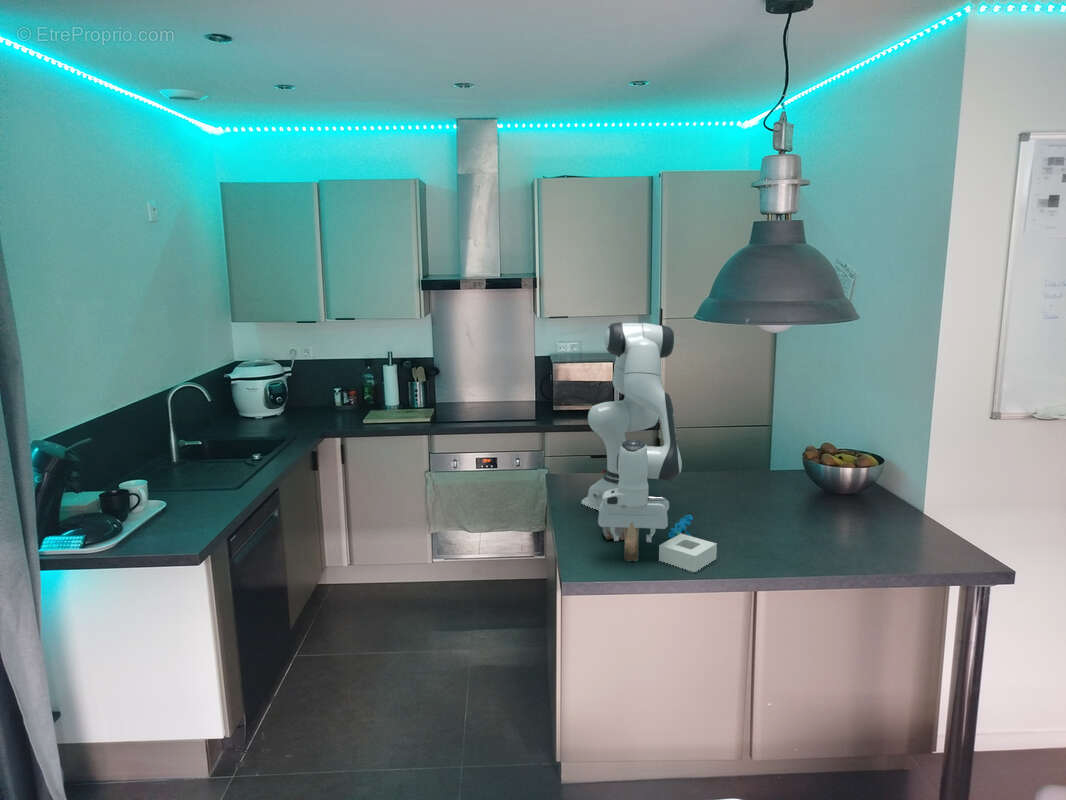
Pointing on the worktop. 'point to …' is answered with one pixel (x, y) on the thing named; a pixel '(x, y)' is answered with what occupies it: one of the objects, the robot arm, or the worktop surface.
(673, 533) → the gear
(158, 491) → the worktop surface
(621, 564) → the worktop surface
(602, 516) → the robot arm
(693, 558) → the fitting block
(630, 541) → the wooden peg
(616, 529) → the food item
